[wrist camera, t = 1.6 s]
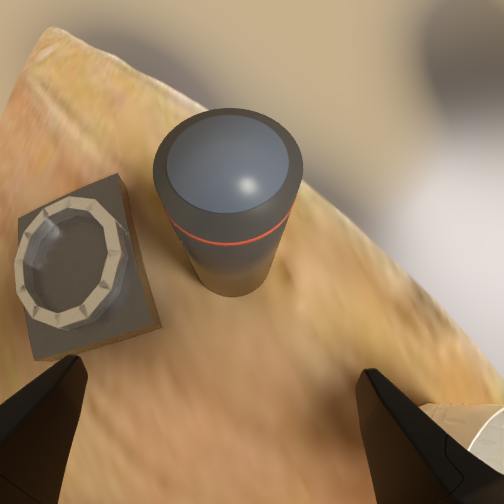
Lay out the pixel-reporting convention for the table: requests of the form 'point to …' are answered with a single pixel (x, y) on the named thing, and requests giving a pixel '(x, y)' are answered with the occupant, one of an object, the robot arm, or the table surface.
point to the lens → (229, 193)
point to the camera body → (82, 272)
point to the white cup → (473, 428)
